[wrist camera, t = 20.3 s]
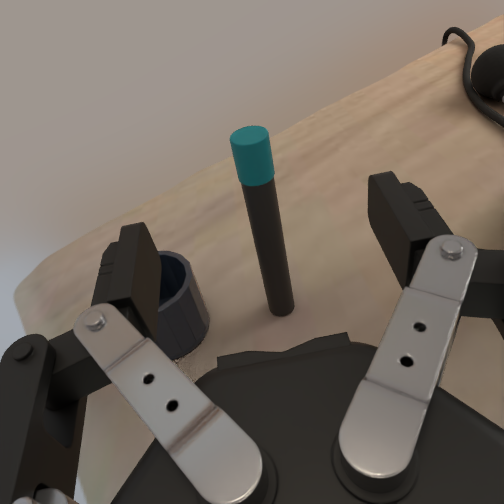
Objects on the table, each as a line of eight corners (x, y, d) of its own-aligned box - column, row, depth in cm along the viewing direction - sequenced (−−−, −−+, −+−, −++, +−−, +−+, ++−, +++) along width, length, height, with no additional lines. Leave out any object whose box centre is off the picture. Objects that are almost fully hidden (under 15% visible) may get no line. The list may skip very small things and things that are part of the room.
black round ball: (511, 90, 49) (481, 32, 53) (480, 129, 54) (455, 74, 59) (561, 89, 49) (527, 32, 54) (525, 128, 55) (497, 74, 60)
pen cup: (164, 288, 41) (142, 243, 37) (224, 309, 38) (208, 261, 34) (116, 345, 37) (86, 301, 33) (179, 373, 34) (154, 328, 30)
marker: (275, 293, 38) (241, 123, 27) (300, 300, 37) (275, 127, 26) (263, 312, 37) (222, 142, 26) (288, 320, 36) (256, 146, 24)
